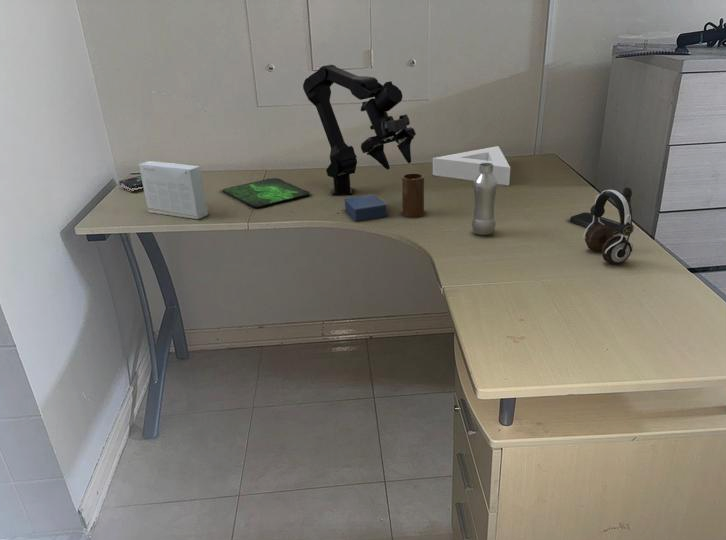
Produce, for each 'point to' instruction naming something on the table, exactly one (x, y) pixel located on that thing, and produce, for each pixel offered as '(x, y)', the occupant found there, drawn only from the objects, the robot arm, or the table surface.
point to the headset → (602, 235)
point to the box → (365, 207)
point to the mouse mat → (265, 192)
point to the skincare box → (174, 188)
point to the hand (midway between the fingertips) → (399, 165)
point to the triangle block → (473, 165)
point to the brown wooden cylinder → (413, 194)
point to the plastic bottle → (484, 200)
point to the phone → (587, 219)
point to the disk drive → (133, 183)
